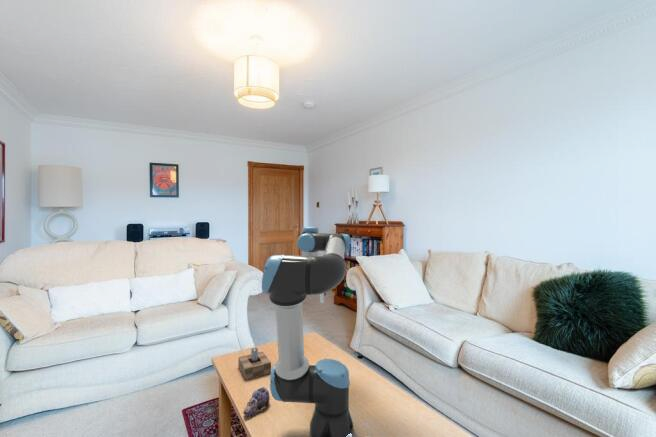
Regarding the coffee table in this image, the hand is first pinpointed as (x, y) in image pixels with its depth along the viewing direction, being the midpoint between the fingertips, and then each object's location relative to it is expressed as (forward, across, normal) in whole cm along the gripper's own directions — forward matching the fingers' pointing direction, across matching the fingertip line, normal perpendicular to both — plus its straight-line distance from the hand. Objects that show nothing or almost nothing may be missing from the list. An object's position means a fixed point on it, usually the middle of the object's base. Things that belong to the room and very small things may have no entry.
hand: (309, 305), depth 142 cm
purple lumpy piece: (+32, +30, +14) cm, 46 cm away
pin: (+32, +22, -13) cm, 41 cm away
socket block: (+32, +22, -13) cm, 41 cm away
